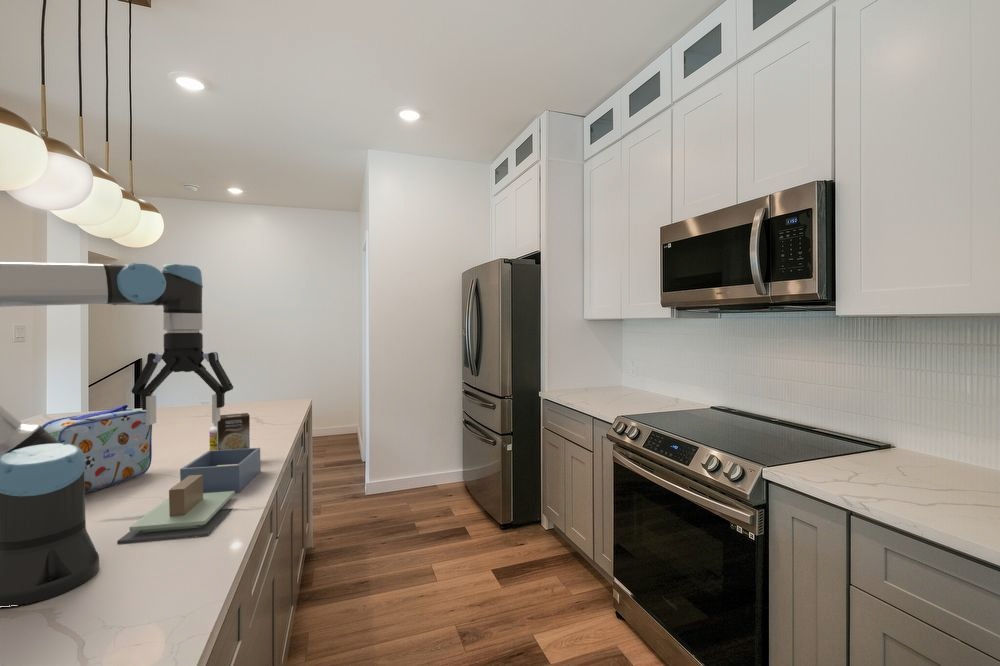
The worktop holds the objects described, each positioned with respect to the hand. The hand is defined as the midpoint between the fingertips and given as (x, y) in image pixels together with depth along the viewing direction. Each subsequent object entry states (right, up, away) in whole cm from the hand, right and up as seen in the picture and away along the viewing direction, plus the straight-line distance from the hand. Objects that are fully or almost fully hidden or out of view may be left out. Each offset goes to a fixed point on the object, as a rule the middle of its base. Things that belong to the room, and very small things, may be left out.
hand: (184, 422), depth 108 cm
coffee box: (-13, -22, +42) cm, 49 cm away
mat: (0, -23, +1) cm, 23 cm away
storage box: (-4, -22, +22) cm, 32 cm away
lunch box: (-39, -23, +23) cm, 51 cm away
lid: (0, -22, +1) cm, 22 cm away
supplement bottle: (-23, -22, +52) cm, 61 cm away
